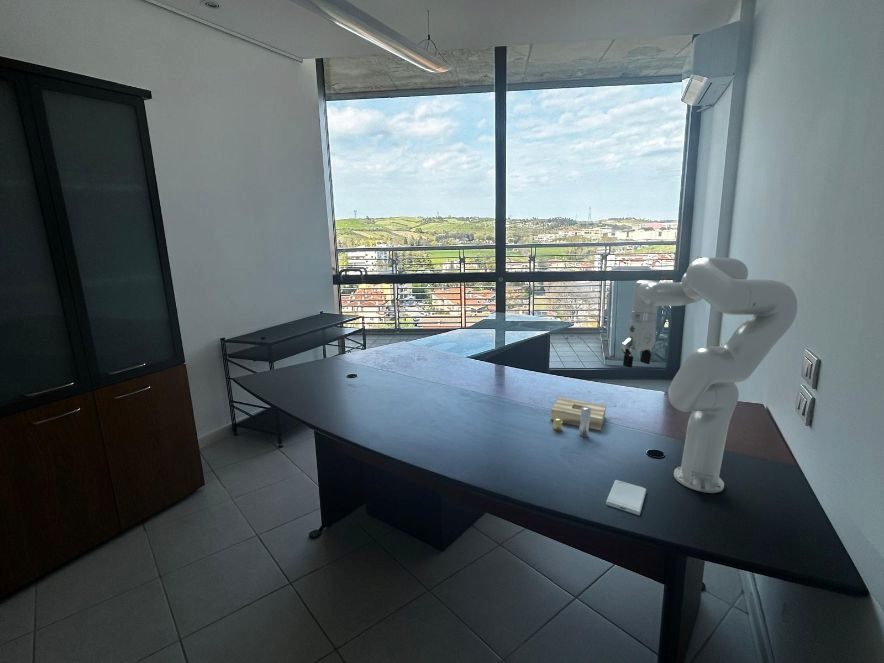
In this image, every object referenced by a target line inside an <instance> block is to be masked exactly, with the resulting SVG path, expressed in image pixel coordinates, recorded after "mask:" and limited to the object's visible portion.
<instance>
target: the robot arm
mask: <svg viewBox="0 0 884 663" xmlns="http://www.w3.org/2000/svg"><path fill="white" fill-rule="evenodd" d="M748 276H749V269H748V267H747V266H746V264H745V263H744V262H743V261H741V260H739V259H737V258H732V257H710V256H709V257H700V258H697V259H695V260H694V261H693V262H691V263H690V264H689V265H688V267H687V269H686V272H685V273H684V274H683V275H682V276H681V277H682V278H681V280H680V282H670V281H669V282H668V281H667V282H666V281H665V282H662V281H661V282H659V281H656V280H651V279H649V280H648V279H639V280H637V281H636V282H635V284H634V290H633V297H632V305H631V311H630V312H631V314H630V320H629V324H628V327H627V331H626V338H625V341H623V342H622V343H621V348H622V350H621V351H622V352H623V353H622V354H623V361H622V362H623V363H622V366H624V367H627V368H632V367H633V360H634V354H635V352H636V351H637V352H641V356H640V357H641V358H640V363H643V364H646V365H649V364H650V362H651V356H652V353H653V349H654V348H655V346H656V345H655V344H656V342H657V339H656V321H655V320H656V313H657V307H679V306H681V307H682V306H686V305H690V304H694V303H697V302H700V301H702V299H703V300H704V301H705V302H706V303H707V304H709V305H710V306H712V308H714V310H716V311H718V312H720V313H722V314H725V315H730V316H735V315H736V316H739V315H740V316H741V315H743V316H745V315H746V316H751V315H752V317H751V318H749V319H748V320H746V321H745V322H743V323H741V325H740V326H738V327H737V329H736V330H734V332H733V333H732V335H731V337H730V338H729V339H728V341H726V343H724V344H722V345H718V346H702V347H699V348H697V349H695V350H692V352H690V353H689V355H687V357H686V358H685V360H684V362H683V363H682V365H681V366H680V368H679V369H678V371H677V372H676V374H675V375H674V377H673V378H672V379H671V382H670V384H669V386H668V387H669V388H668V392H667V394H668V400H669V402H670V404H671V406H673V407H674V408H675V410H678V411H681V412H685V413H687V412H688V413H689V412H690V416H689V418H688V422H687V427H686V434H685V439H684V440H685V441H684V446H683V447H684V448H683V451H682V452H683V453H682V459H681V464H680V466H678V467H676V468H675V469H674V470H673V478H674V479H675V480H676V481H677V482H679V484H681V485H682V486H684V487H687V488H689V489H691V490H694V491H696V492H702V493H706V494H707V493H708V494H716V493H720V492H723V490H724V488H725V483H724V480H723V479H722V478H721V477H720V473H721V470H722V469H721V468H722V462H723V456H724V451H725V446H726V440H727V436H728V430H729V428H730V427H729V426H730V422H731V418H732V416H733V413H734V411H735V409H736V408H737V407H736V406H737V404H738V400H739V394H740V393H739V388H738V385H737V383H741V382H744V381H747V380H748V379H749V378H750V377H751V376H752V374H753V373H754V372H755V370H757V368H758V366H760V365H761V363H762V361H763V360H764V359H765V358H766V357H767V355H768V354H769V352H771V350H772V348H774V346H775V345H776V344H777V342H779V341H780V339H781V338H782V337H783V336H784V335H785V334H786V333H787V332H788V331H789V329H790V328H791V327H792V325H793V324H794V322H795V319H796V317H797V313H798V299H797V295H796V294H795V291H794V290H793V289H792V287H790V286H789V285H788V284H786V283H784V282H781V281H778V280H772V279H748Z"/></svg>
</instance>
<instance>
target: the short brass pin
mask: <svg viewBox="0 0 884 663" xmlns="http://www.w3.org/2000/svg"><path fill="white" fill-rule="evenodd" d="M552 423H553V426H552V430H553V431H554V432H563V426H564V425H563V424H564V423H563V419H562V418H558V417H556V418H554V421H553V422H552Z"/></svg>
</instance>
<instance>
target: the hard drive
mask: <svg viewBox="0 0 884 663" xmlns="http://www.w3.org/2000/svg"><path fill="white" fill-rule="evenodd" d="M646 494H647V488H645V487H643V486H641V485H635V484H633V483H628V482H625V481H622V480H618V479H615V480H614V482H613V485H612V487H611V490H610V492H609V494H608V496H607V499H606V501H605V505H606V506H610V507H612V508H616V509H619V510H622V511H624V512H627V513H631V514H634V515H637V516H641V513H642V509H643V505H644V501H645V497H646Z"/></svg>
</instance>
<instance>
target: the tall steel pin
mask: <svg viewBox="0 0 884 663" xmlns="http://www.w3.org/2000/svg"><path fill="white" fill-rule="evenodd" d="M590 415H591V408H590V407H585V406H584V407H581V417H580V426H578V427H579V428H578V435H579V436H580V437H582V438H587V437H589V433H590V432H589V431H590V428H589V424H590Z"/></svg>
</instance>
